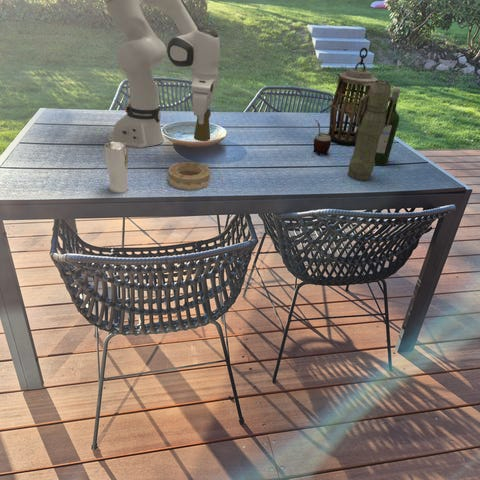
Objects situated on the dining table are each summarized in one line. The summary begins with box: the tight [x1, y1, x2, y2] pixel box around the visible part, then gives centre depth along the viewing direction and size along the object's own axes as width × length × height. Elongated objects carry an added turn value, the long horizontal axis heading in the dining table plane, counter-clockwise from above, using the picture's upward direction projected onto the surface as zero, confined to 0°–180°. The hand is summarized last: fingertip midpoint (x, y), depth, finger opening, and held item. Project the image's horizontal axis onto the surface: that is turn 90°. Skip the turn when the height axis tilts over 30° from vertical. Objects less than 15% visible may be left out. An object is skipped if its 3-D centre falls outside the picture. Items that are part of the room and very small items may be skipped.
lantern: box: [327, 46, 379, 147], centre depth 189 cm, size 19×19×40 cm
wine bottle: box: [374, 87, 401, 166], centre depth 171 cm, size 8×8×30 cm
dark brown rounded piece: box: [193, 108, 212, 142], centre depth 155 cm, size 6×6×11 cm
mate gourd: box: [312, 119, 332, 157], centre depth 179 cm, size 8×8×15 cm
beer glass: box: [104, 141, 129, 194], centre depth 137 cm, size 7×7×15 cm
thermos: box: [347, 80, 395, 182], centre depth 156 cm, size 9×12×35 cm
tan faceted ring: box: [167, 161, 211, 191], centre depth 150 cm, size 14×14×4 cm
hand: (202, 121), depth 154 cm, fingers closed on dark brown rounded piece, 4 cm apart
